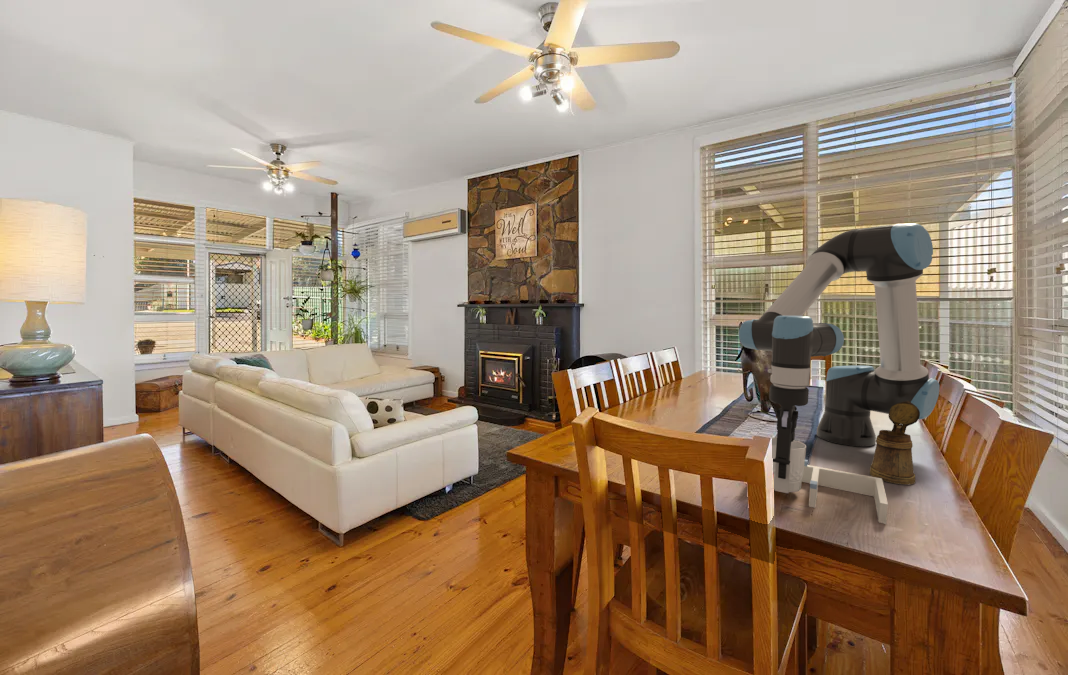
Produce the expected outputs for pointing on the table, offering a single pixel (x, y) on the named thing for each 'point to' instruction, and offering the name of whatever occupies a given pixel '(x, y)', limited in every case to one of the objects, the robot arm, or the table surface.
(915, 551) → the table surface
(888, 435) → the wooden mug
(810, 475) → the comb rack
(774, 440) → the white cup
